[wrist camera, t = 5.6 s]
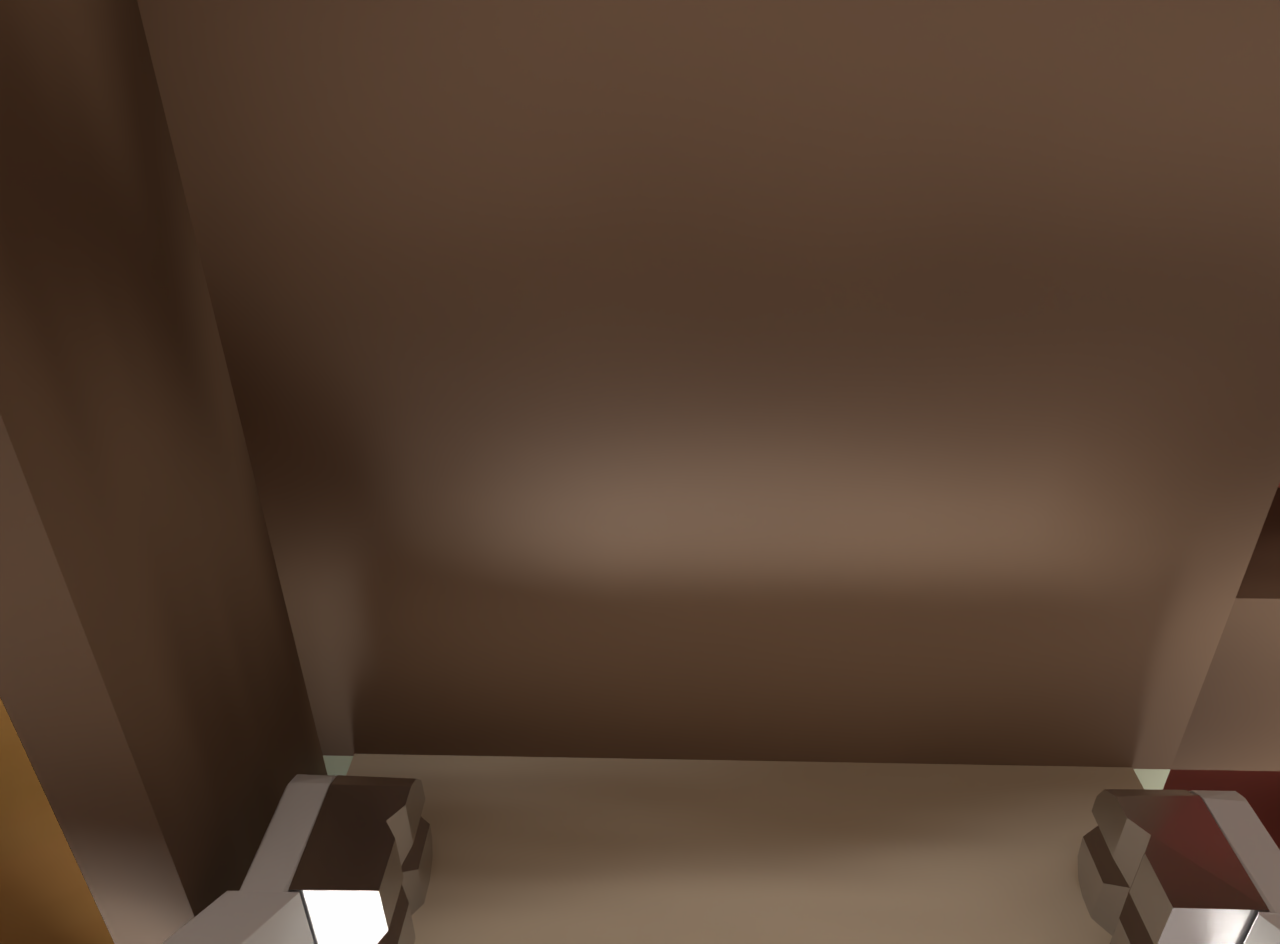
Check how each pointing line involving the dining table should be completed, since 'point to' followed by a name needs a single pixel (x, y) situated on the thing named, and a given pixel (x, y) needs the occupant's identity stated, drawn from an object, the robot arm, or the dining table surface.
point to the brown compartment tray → (629, 396)
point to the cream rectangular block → (751, 850)
